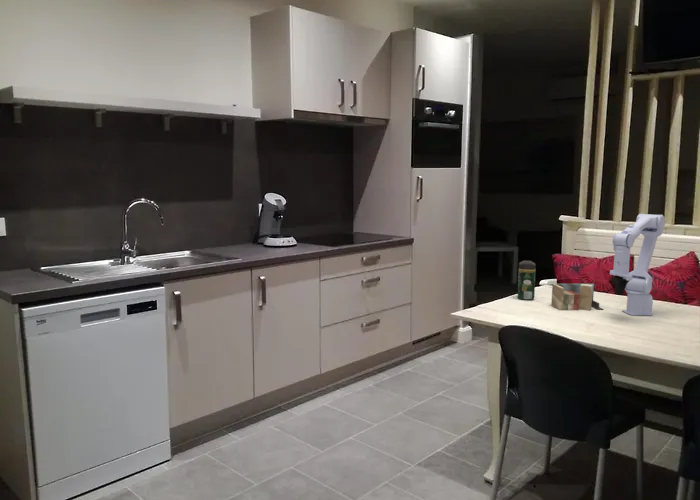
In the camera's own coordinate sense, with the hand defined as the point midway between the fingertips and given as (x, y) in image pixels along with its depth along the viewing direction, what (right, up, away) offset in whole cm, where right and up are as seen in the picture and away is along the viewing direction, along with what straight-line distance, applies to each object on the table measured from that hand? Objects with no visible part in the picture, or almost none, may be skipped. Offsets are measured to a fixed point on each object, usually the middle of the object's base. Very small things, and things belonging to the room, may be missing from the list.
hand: (619, 294), depth 228 cm
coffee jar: (-26, -5, +40) cm, 48 cm away
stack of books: (-9, -8, +22) cm, 25 cm away
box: (-6, -8, +20) cm, 22 cm away
